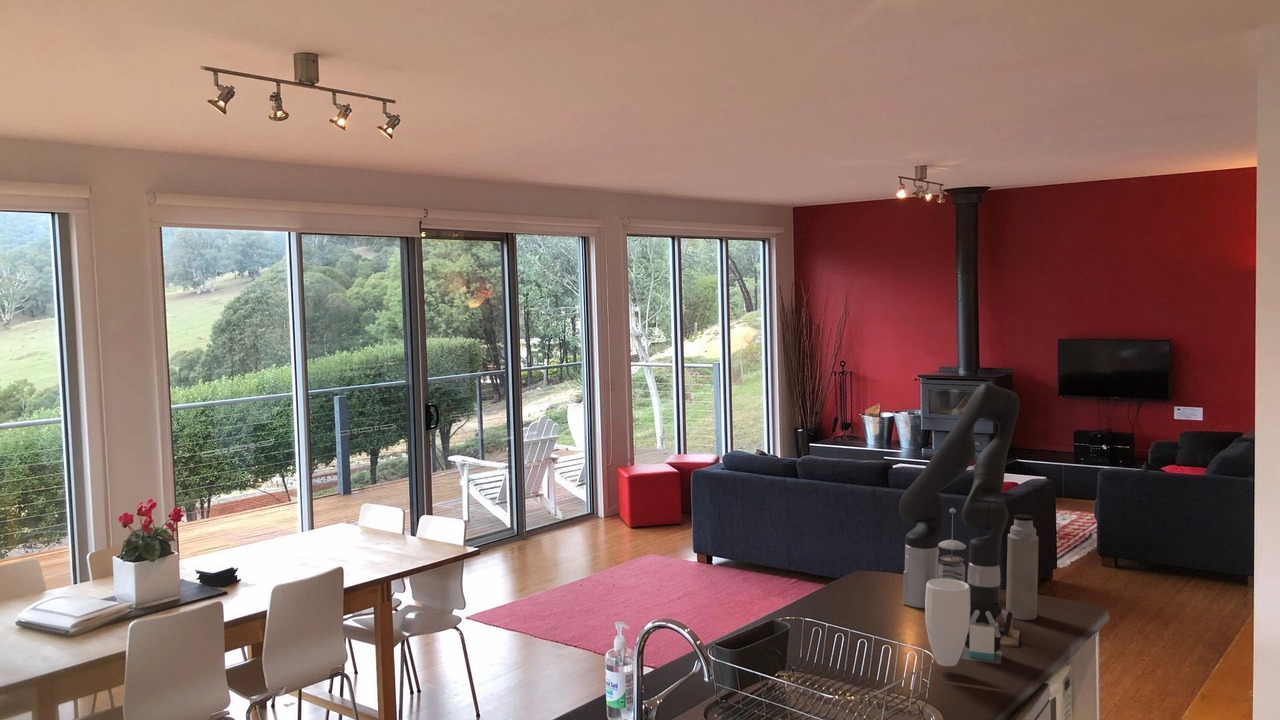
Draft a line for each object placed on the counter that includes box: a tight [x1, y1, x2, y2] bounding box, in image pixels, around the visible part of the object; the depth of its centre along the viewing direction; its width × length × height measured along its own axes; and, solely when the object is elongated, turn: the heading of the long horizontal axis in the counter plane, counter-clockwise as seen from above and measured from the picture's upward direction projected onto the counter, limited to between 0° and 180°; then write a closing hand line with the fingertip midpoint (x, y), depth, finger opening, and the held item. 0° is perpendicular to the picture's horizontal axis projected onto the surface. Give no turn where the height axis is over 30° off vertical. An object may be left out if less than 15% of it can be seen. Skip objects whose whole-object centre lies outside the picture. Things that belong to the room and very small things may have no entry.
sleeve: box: [969, 622, 995, 661], centre depth 241 cm, size 6×6×8 cm
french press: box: [938, 507, 967, 583], centre depth 296 cm, size 10×12×25 cm
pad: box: [960, 646, 1003, 665], centre depth 241 cm, size 9×9×1 cm
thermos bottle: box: [1005, 514, 1040, 621], centre depth 272 cm, size 8×8×28 cm
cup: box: [924, 579, 971, 667], centre depth 229 cm, size 10×10×22 cm
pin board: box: [999, 617, 1021, 648], centre depth 254 cm, size 11×12×6 cm
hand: (982, 648), depth 241 cm, fingers closed on sleeve, 5 cm apart
